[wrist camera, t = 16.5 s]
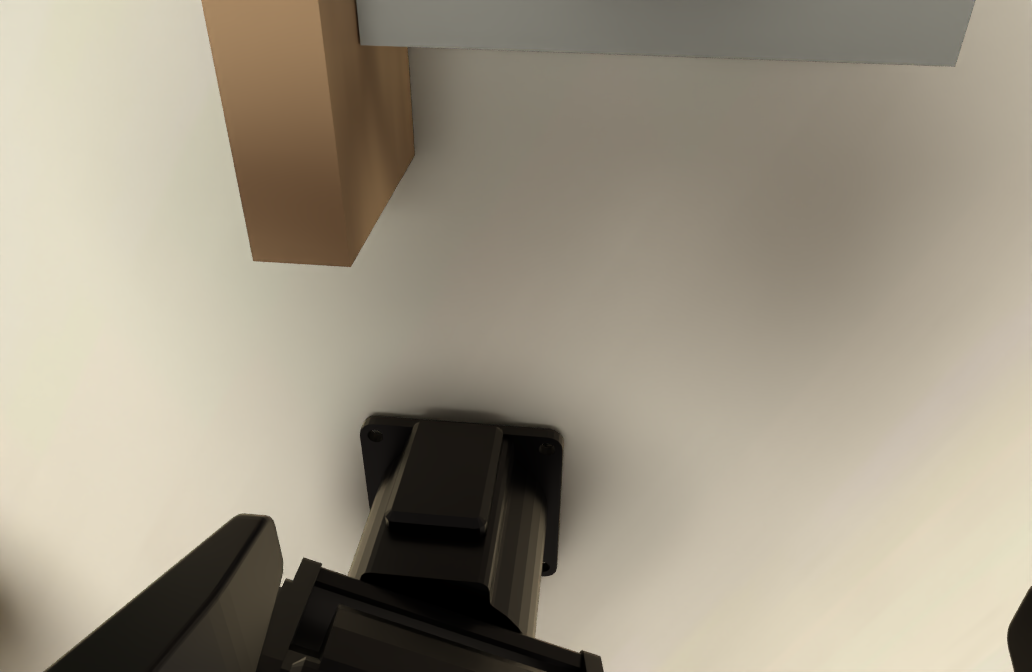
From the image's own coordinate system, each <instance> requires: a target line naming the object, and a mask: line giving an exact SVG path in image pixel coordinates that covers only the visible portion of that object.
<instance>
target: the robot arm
mask: <svg viewBox="0 0 1032 672" xmlns="http://www.w3.org/2000/svg"><path fill="white" fill-rule="evenodd" d="M372 430H377V431H379V432H381V433H382V434H377V433H375V432H373V431H372ZM360 439H361V446H362V454H363V461H364V469H365V476H366V484H367V492H368V499H369V507H370V513H369V516H368V519H367V522H366V525H365V528H364V531H363V533H362V536H361V539H360V542H359V545H358V548H357V551H356V553H355V556H354V559H353V562H352V565H351V568H350V571H349V573H348V576H347V575H344V574H341V573H338V572H335V571H332V570H328V569H325V568H322V567H321V566H322V563H319V562H316V561H313V560H310V559H307V558H304V557H303V559H302V562H301V564H300V566H299V568H298V571H297V573H296V575H295V577H294V580H290V579H287V578H286V579H285V581H284V584H283V586H282V587H279V586H280V583H281V579H282V573H283V558H282V553H281V549H280V544H279V540H278V536H277V531H276V527H275V524H274V521H273V519H272V518H271V517H270V516H267V515H256V514H239V515H237V516H235V517H233V518H232V519H231V520H229V521H228V522H227V523H226V524H224V525H223V526H222V527H221V528H220V529H218V530H217V531H216V532H215V533H213V534H212V535H211V536H210V537H209V538H207V539H206V540H205V541H204V542H202V543H201V544H200V545H199V546H197V547H196V548H195V549H194V550H193V551H191V552H190V553H189V554H188V555H186V556H185V557H184V558H183V559H181V560H180V561H179V562H178V563H177V564H175V565H174V566H173V567H172V568H170V569H169V570H168V571H167V572H165V573H164V574H163V575H162V576H161V577H159V578H158V579H157V580H156V581H154V582H153V583H152V584H151V585H149V586H148V587H147V588H146V589H145V590H143V591H142V592H141V593H140V594H138V595H137V596H136V597H135V598H133V599H132V600H131V601H130V602H129V603H127V604H126V605H125V606H124V607H122V608H121V609H120V610H119V611H118V612H116V613H115V614H114V615H113V616H111V617H110V618H109V619H108V620H106V621H105V622H104V623H103V624H102V625H100V626H99V627H98V628H97V629H95V630H94V631H93V632H92V633H90V634H89V635H88V636H87V637H86V638H84V639H83V640H82V641H81V642H79V643H78V644H77V645H76V646H74V647H73V648H72V649H71V650H70V651H68V652H67V653H66V654H65V655H63V656H62V657H61V658H60V659H58V660H57V661H56V662H55V663H54V664H52V665H51V666H50V667H49V668H47V669H46V670H45V671H44V672H604V671H603V666H602V661H601V657H600V656H598V655H595V654H592V653H589V652H586V651H583V650H581V651H580V653H578V652H575V651H572V650H569V649H566V648H563V647H560V646H557V645H554V644H551V643H548V642H545V641H542V640H539V639H536V638H535V631H536V621H537V612H538V602H539V592H540V582H541V576H550V575H552V574H554V573H555V572H556V569H557V560H558V542H559V523H560V504H561V485H562V466H563V447H564V441H563V437H562V436H561V435H560V433H558V432H556V431H555V430H551V429H542V428H529V427H516V426H503V425H489V424H476V423H463V422H450V421H437V420H423V419H410V418H397V417H384V416H371V417H369V418H367V419H366V420H365V421H364V423H363V426H362V428H361V431H360ZM545 443H548V444H552V445H553V446H552V447H545V446H543V445H542V444H545ZM543 562H545V563H543ZM1007 642H1008V649H1009V653H1010V657H1011V661H1012V665H1013V669H1014V672H1032V586H1031V587H1030V588H1029V590H1028V592H1027V594H1026V595H1025V597H1024V599H1023V601H1022V603H1021V604H1020V606H1019V608H1018V610H1017V612H1016V614H1015V615H1014V617H1013V619H1012V621H1011V623H1010V625H1009V628H1008V632H1007Z"/></svg>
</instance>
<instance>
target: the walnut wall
mask: <svg viewBox="0 0 1032 672" xmlns="http://www.w3.org/2000/svg"><path fill="white" fill-rule="evenodd" d="M201 1H202V6H203V11H204V16H205V21H206V26H207V31H208V36H209V41H210V46H211V51H212V56H213V61H214V66H215V71H216V76H217V81H218V86H219V91H220V96H221V101H222V106H223V111H224V116H225V122H226V127H227V132H228V137H229V142H230V147H231V152H232V157H233V162H234V167H235V172H236V177H237V182H238V187H239V192H240V197H241V202H242V207H243V212H244V217H245V222H246V227H247V232H248V237H249V242H250V247H251V252H252V257H253V261H261V262H278V263H294V264H311V265H328V266H344V267H351V266H352V264H353V262H354V260H355V259H356V257H357V255H358V253H359V252H360V250H361V248H362V246H363V245H364V243H365V241H366V239H367V238H368V236H369V234H370V232H371V231H372V229H373V227H374V225H375V224H376V222H377V220H378V218H379V217H380V215H381V213H382V211H383V210H384V208H385V206H386V205H387V203H388V201H389V199H390V198H391V196H392V194H393V192H394V191H395V189H396V187H397V185H398V184H399V182H400V180H401V178H402V177H403V175H404V173H405V171H406V170H407V168H408V166H409V164H410V163H411V161H412V159H413V157H414V156H415V151H414V135H413V120H412V105H411V90H410V75H409V60H408V47H397V46H370V45H361V44H360V34H359V23H358V13H357V3H356V0H201Z"/></svg>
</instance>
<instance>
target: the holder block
mask: <svg viewBox="0 0 1032 672" xmlns="http://www.w3.org/2000/svg"><path fill="white" fill-rule="evenodd" d="M356 3H357V13H358V23H359V34H360V44H361V45H370V46H397V47H425V48H453V49H480V50H508V51H536V52H563V53H591V54H619V55H646V56H674V57H702V58H729V59H757V60H785V61H813V62H840V63H868V64H896V65H923V66H951V67H955V65H956V62H957V59H958V55H959V52H960V49H961V46H962V42H963V39H964V36H965V33H966V29H967V26H968V23H969V20H970V16H971V13H972V10H973V6H974V3H975V0H356Z"/></svg>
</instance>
